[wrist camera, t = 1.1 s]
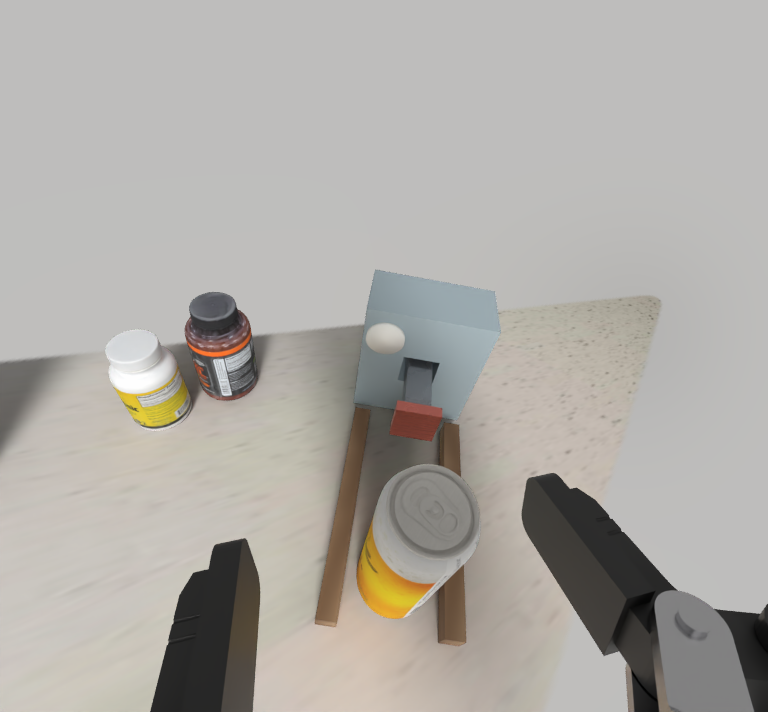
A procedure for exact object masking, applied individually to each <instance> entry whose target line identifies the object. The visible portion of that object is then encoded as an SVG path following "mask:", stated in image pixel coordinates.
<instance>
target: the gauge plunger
mask: <svg viewBox="0 0 768 712" xmlns="http://www.w3.org/2000/svg"><path fill="white" fill-rule="evenodd" d="M432 363H433V362H430V361H425V360H419V359H413V358H408V357H406V363H405V374H404V385H403V396H402V401H399V400H397V403H396V407H395V410H394V414H393V418H392V421H391V425H390V433H389V434H391V435H396V436H402V437H408V438H414V439H420V440H426V441H432V439H433V437H434V435H435V433H436V430H437V428H438V426H439V424H440V421H441V419H442V408H439V407H434V406H431V402H432Z"/></svg>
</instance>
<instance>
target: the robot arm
mask: <svg viewBox="0 0 768 712" xmlns="http://www.w3.org/2000/svg"><path fill="white" fill-rule="evenodd" d="M522 521H523V525H524V528H525V530H526V533H527V535H528V536H529V538H530V539H531V541H532V543H533V544H534V546H535V547H536V549H537V551H538V552H539V554H540V555H541V557H542V558H543V560H544V562H545V563H546V565H547V566H548V568H549V570H550V571H551V573H552V574H553V576H554V578H555V579H556V581H557V582H558V584H559V585H560V587H561V589H562V590H563V592H564V593H565V595H566V597H567V598H568V600H569V601H570V603H571V604H572V606H573V608H574V609H575V611H576V612H577V614H578V616H579V617H580V619H581V620H582V622H583V623H584V625H585V626H586V628H587V630H588V631H589V633H590V635H591V636H592V638H593V639H594V641H595V642H596V644H597V645H598V647H599V649H600V650H601V652H602V654H603V655H604V656H605V655H608V654H611V653H615V652H618V651H620V653H621V654H622V656H623V657H624V659H625V660H626V662H627V664H626V684H627V699H628V712H768V604H767V605H766V607H765V608H764V610H763V611H762V613H761V614H756V613H745V612H735V611H725V610H717V609H713V608H712V607H711V606H709V605H708V604H707V603H705V602H704V601H702V600H701V599H699V598H697V597H695V596H693V595H691V594H688V593H685V592H682V591H678V590H676V589H675V588H674V587H673V586H672V585H671V584H670V583H669V582H668V581H667V580H666V579H665V578H664V577H663V575H662V574H661V573H660V572H659V571H658V570H657V569H656V567H655V566H654V565H653V564H652V563H651V562H650V561H649V560H648V559H647V558H646V556H645V555H644V554H643V553H642V552H641V551H640V550H639V548H638V547H637V546H636V545H635V544H634V543H633V542H632V541H631V539H630V538H629V537H628V536H627V535H626V534H625V533H624V532H622V531H621V528H620V527H619V526H618V525H617V524H616V523H615V522H614V520H613V519H610V518H609V515H608V514H607V513H606V511H605V510H604V509H603V508H602V507H601V506H600V505H599V504H598V503H597V501H596V500H595V499H593V498H592V497H590V496H589V495H587V494H585V493H584V492H582V491H581V490H579V489H578V488H573V489H569V487H568V486H567V485H566V484H565V483H564V482H563V480H562V479H561V478H560V477H559V476H558V475H557V474H555V473H550V474H545V475H541V476H536V477H531V478H529V479H528V480H527V483H526V489H525V495H524V501H523V508H522ZM259 607H260V583H259V576H258V572H257V569H256V566H255V563H254V560H253V557H252V554H251V551H250V548H249V545H248V542H247V540H246V539H245V538H244V539H239V540H234V541H230V542H225V543H220V544H216V545H215V546H214V548H213V551H212V555H211V560H210V565H209V569H208V570H203V571H199V572H195V573H193V574H192V576H191V578H190V579H189V581H188V583H187V584H186V586H185V587H184V589H183V591H182V592H181V594H180V595H179V599H178V603H177V607H176V611H175V615H174V619H173V620H174V624H172V627H171V631H170V635H169V639H168V641H169V643H168V645H167V647H166V651H165V655H164V659H163V663H162V667H161V671H160V675H159V679H158V683H157V687H156V691H155V695H154V699H153V703H152V707H151V711H150V712H253V697H254V682H255V667H256V652H257V637H258V622H259Z"/></svg>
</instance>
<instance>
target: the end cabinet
mask: <svg viewBox="0 0 768 712" xmlns="http://www.w3.org/2000/svg"><path fill="white" fill-rule="evenodd" d="M500 333H501V329H500V323H499V316H498V310H497V303H496V296H495V291H490V290H484V289H478V288H473V287H468V286H462V285H457V284H451V283H446V282H440V281H434V280H429V279H424V278H418V277H413V276H407V275H402V274H397V273H391V272H385V271H380V270H375V273H374V278H373V282H372V287H371V291H370V296H369V301H368V306H367V311H366V319H365V325H364V332H363V339H362V346H361V353H360V360H359V367H358V374H357V381H356V388H355V395H354V402H353V403H359V404H365V405H371V406H376V407H382V408H388V409H394V410H395V407H396V403H397V400H399V401H402V396H403V385H404V374H405V363H406V357H408V358H413V359H419V360H425V361H430V362H433V363H432V402H431V406H434V407H439V408H442V418H446V419H452V420H457V419H458V417H459V415H460V413H461V411H462V409H463V407H464V405H465V403H466V401H467V399H468V397H469V395H470V393H471V391H472V389H473V387H474V385H475V383H476V381H477V379H478V377H479V375H480V373H481V371H482V369H483V367H484V365H485V363H486V361H487V359H488V357H489V355H490V353H491V351H492V349H493V347H494V345H495V343H496V341H497V339H498V337H499V335H500Z"/></svg>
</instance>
